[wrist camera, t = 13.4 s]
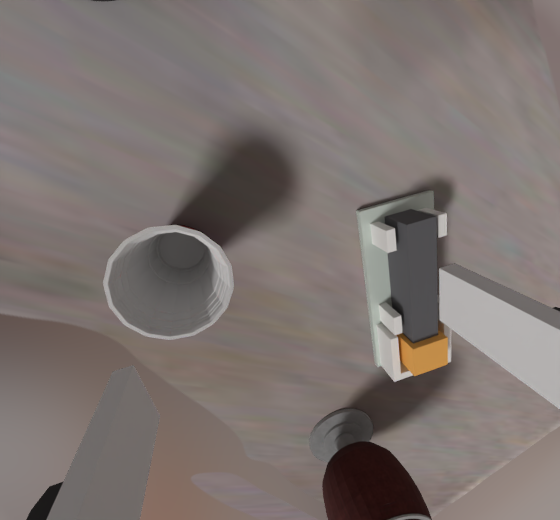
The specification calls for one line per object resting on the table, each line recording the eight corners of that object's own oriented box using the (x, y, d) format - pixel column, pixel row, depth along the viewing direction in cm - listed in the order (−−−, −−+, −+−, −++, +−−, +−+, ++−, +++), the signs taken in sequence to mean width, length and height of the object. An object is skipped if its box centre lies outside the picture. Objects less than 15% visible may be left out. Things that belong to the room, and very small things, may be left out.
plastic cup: (245, 251, 39) (258, 291, 28) (181, 301, 39) (169, 360, 28) (187, 183, 34) (175, 199, 23) (115, 241, 35) (71, 282, 24)
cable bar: (379, 218, 40) (406, 228, 34) (415, 207, 41) (447, 216, 35) (391, 350, 49) (414, 376, 43) (421, 340, 49) (447, 364, 44)
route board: (356, 210, 40) (374, 218, 35) (428, 190, 41) (456, 195, 37) (374, 363, 50) (391, 384, 46) (432, 343, 52) (454, 361, 47)
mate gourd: (381, 401, 54) (469, 530, 35) (368, 456, 58) (439, 596, 40) (300, 410, 50) (351, 559, 32) (292, 468, 55) (333, 627, 36)
